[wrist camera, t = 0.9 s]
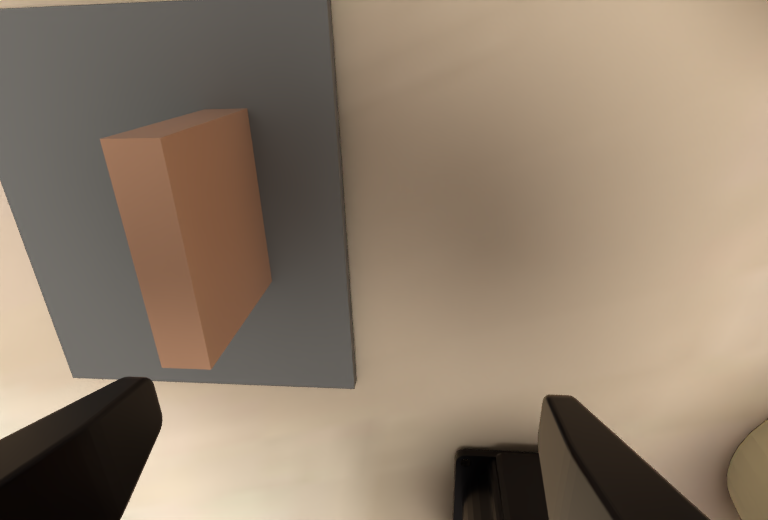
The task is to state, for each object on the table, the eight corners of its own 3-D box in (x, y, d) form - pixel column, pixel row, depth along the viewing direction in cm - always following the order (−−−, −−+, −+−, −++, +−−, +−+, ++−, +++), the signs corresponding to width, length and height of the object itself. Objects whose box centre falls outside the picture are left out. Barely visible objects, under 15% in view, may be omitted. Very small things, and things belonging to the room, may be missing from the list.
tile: (271, 281, 20) (211, 369, 15) (234, 280, 20) (159, 367, 15) (247, 108, 17) (160, 138, 12) (203, 109, 17) (97, 139, 12)
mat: (356, 380, 23) (354, 389, 22) (81, 370, 24) (72, 377, 23) (330, -5, 16) (326, -7, 15) (-47, 12, 17) (-62, 11, 17)
